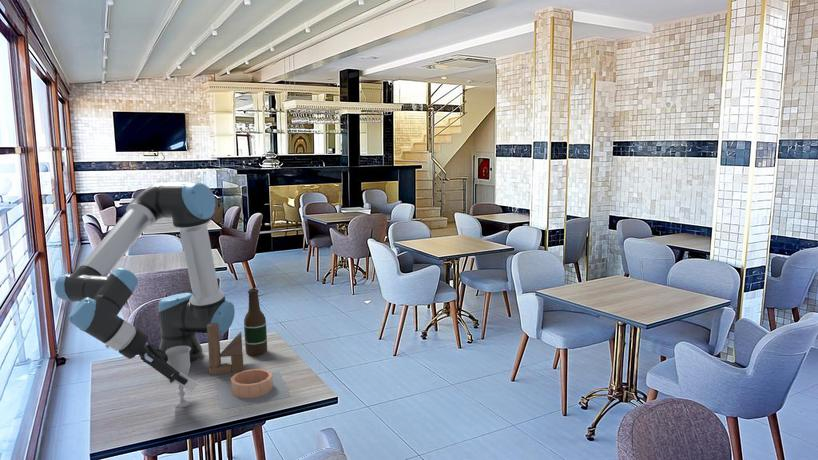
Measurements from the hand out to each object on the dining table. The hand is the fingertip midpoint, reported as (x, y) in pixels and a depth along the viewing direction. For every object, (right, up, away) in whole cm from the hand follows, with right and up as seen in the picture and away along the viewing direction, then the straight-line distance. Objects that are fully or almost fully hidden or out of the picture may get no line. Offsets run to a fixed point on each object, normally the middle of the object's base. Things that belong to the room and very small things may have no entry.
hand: (190, 379), depth 162 cm
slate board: (+16, -7, +9) cm, 19 cm away
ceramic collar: (+16, -5, +9) cm, 19 cm away
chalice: (-2, -9, 0) cm, 9 cm away
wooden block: (+3, -5, +24) cm, 24 cm away
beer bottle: (+8, -2, +44) cm, 44 cm away
